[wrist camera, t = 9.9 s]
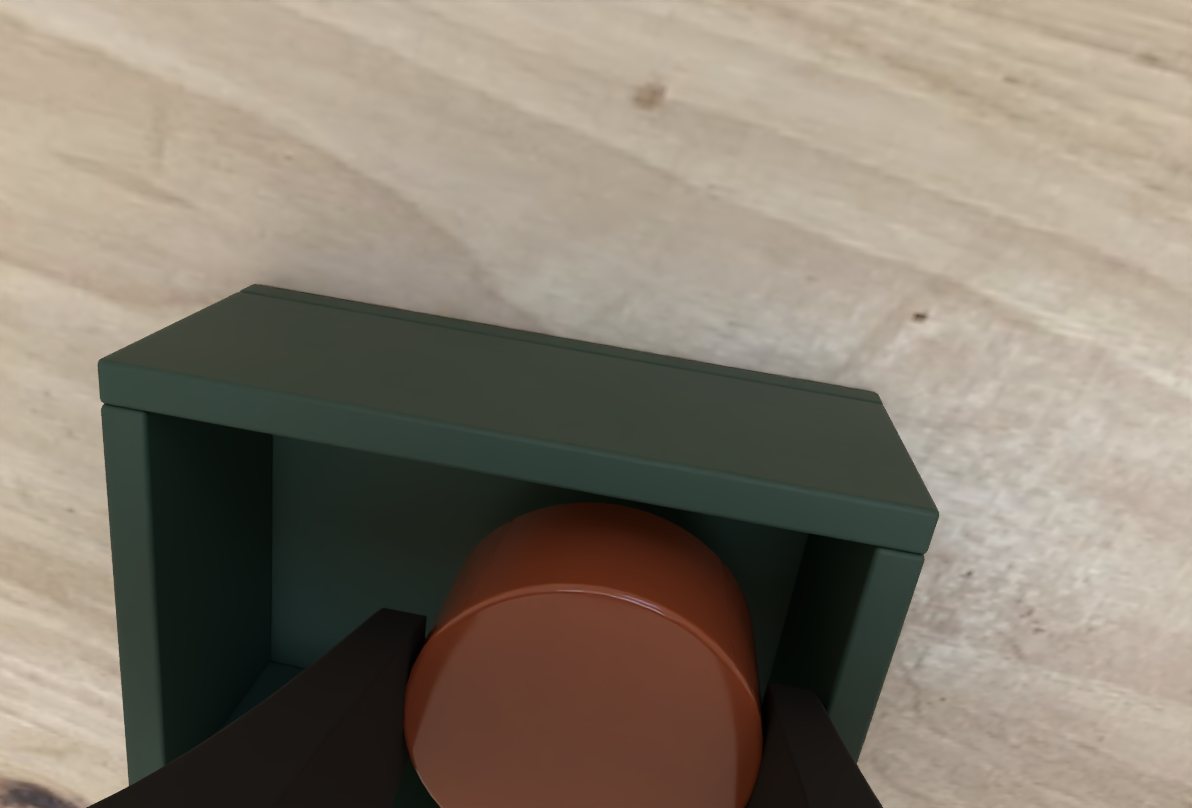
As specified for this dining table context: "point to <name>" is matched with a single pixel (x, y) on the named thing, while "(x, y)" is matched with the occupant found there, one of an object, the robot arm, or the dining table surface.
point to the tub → (466, 495)
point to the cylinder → (588, 670)
